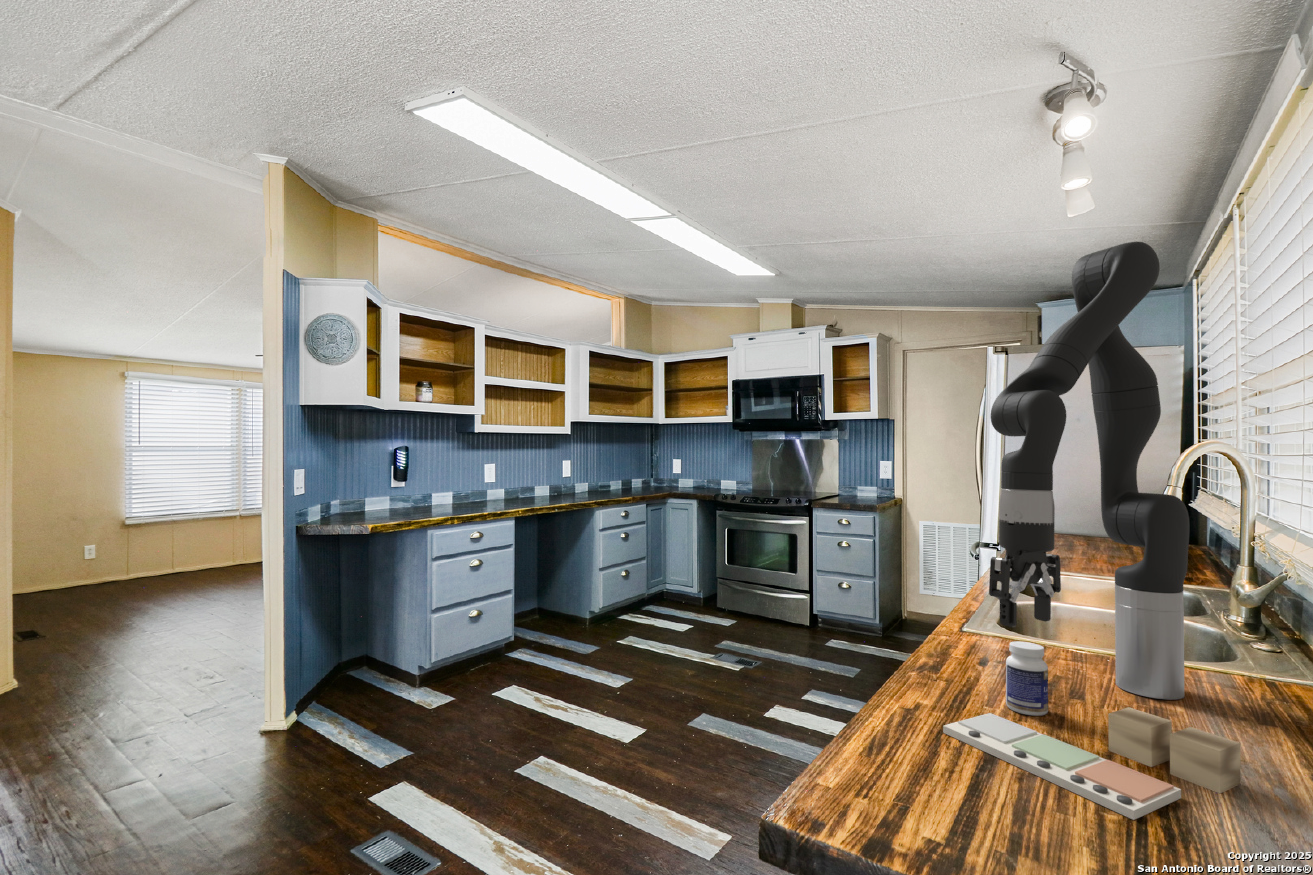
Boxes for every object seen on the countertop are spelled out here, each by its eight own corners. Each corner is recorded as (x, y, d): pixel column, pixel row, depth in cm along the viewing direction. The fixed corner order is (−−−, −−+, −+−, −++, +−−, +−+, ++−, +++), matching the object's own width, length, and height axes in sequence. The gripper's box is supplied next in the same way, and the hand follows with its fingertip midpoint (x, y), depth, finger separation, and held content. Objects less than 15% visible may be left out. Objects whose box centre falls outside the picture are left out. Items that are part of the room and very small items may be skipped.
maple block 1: (1129, 743, 88) (1128, 707, 88) (1172, 759, 83) (1171, 720, 83) (1108, 751, 85) (1108, 713, 85) (1151, 767, 81) (1151, 727, 81)
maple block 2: (1190, 766, 81) (1190, 726, 81) (1240, 784, 77) (1240, 742, 77) (1170, 774, 79) (1169, 733, 79) (1219, 794, 75) (1219, 750, 75)
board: (989, 719, 95) (989, 710, 95) (1181, 797, 73) (1180, 786, 73) (943, 732, 90) (943, 723, 90) (1133, 819, 69) (1133, 807, 69)
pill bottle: (1054, 718, 95) (1054, 651, 96) (1013, 715, 97) (1012, 649, 97) (1039, 704, 101) (1039, 640, 101) (1000, 700, 102) (1000, 638, 102)
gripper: (1030, 515, 106) (1030, 613, 106) (974, 517, 100) (973, 621, 99) (1078, 520, 100) (1077, 624, 99) (1020, 522, 93) (1020, 634, 93)
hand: (1025, 622), depth 99 cm, fingers open, 8 cm apart
